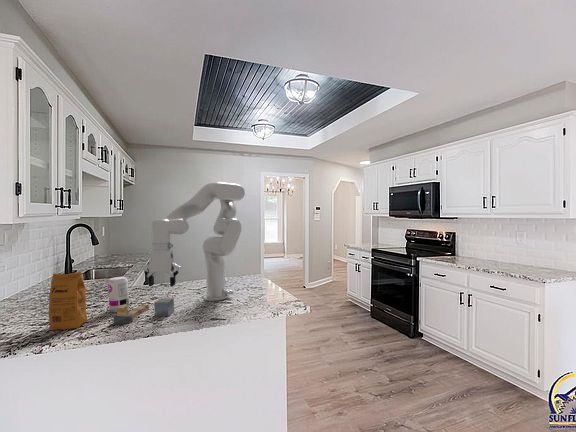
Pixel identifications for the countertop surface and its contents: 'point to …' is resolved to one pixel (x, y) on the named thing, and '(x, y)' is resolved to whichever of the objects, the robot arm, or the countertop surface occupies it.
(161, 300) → the blue gray cube
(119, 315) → the wooden handled hammer
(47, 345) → the countertop surface
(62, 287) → the coffee package
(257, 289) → the countertop surface
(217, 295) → the robot arm
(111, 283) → the supplement can
